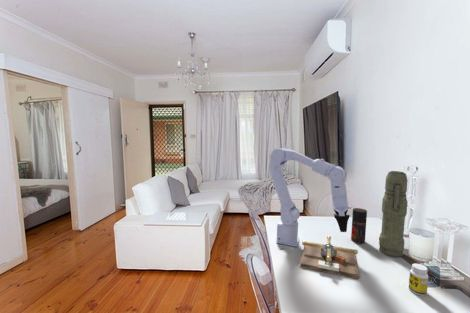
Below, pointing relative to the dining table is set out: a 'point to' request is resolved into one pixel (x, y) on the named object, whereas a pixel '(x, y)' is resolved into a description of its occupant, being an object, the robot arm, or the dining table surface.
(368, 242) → the dining table surface
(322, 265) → the frame
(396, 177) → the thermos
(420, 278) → the supplement bottle
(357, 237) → the deodorant
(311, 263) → the stand board
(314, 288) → the dining table surface
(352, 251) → the capstan
